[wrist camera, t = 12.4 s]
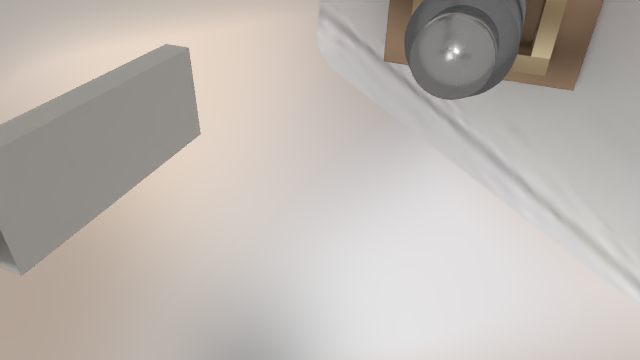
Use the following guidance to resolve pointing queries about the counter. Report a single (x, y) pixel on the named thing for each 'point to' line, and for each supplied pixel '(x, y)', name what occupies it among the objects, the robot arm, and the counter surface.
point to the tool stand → (525, 39)
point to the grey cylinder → (463, 44)
